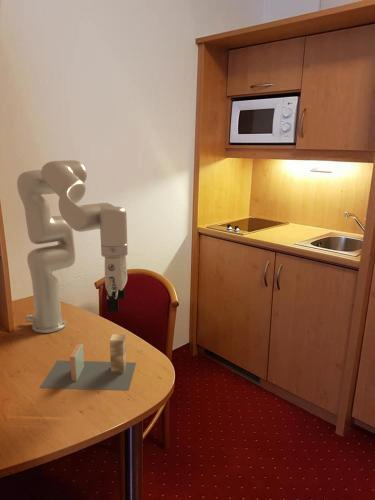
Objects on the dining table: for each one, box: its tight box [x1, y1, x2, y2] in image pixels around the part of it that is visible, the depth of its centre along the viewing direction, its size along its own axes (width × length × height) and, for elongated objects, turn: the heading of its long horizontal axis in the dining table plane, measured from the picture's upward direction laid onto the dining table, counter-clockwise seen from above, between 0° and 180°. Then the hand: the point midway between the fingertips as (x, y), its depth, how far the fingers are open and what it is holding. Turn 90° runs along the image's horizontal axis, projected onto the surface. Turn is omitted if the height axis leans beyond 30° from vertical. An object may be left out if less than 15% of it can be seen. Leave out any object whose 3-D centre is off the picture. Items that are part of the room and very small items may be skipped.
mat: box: [39, 359, 137, 391], centre depth 123 cm, size 26×15×1 cm, turn 88°
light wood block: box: [109, 333, 127, 373], centre depth 124 cm, size 4×4×11 cm
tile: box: [69, 342, 85, 381], centre depth 122 cm, size 2×8×8 cm, turn 178°
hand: (116, 304), depth 120 cm, fingers open, 9 cm apart
